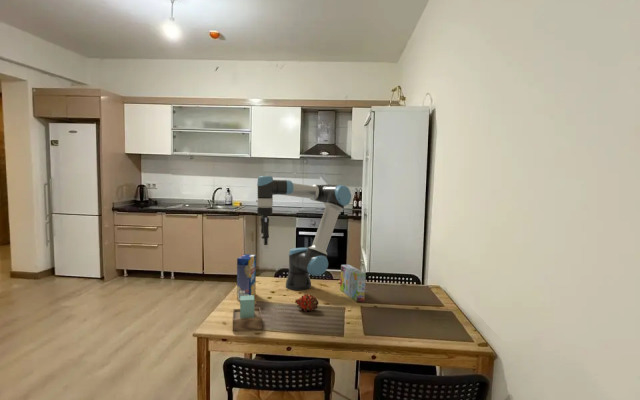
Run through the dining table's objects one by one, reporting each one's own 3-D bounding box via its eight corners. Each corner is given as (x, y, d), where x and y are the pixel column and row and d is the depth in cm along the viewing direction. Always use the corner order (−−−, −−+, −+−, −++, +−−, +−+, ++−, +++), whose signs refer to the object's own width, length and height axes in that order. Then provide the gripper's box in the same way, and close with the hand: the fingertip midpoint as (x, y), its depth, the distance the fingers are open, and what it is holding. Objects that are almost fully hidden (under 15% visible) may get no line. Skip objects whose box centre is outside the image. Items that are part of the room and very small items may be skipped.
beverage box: (255, 293, 198) (255, 254, 196) (249, 300, 187) (249, 259, 186) (243, 293, 199) (243, 254, 197) (236, 299, 188) (237, 258, 186)
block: (253, 312, 160) (253, 295, 160) (254, 317, 154) (254, 299, 154) (240, 313, 159) (240, 295, 158) (240, 318, 153) (240, 300, 153)
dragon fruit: (319, 315, 173) (296, 316, 176) (322, 300, 179) (299, 301, 182) (315, 305, 168) (291, 305, 171) (317, 290, 174) (294, 291, 177)
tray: (259, 318, 164) (260, 307, 164) (261, 329, 152) (261, 317, 152) (233, 319, 162) (233, 309, 161) (232, 331, 150) (232, 319, 150)
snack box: (365, 300, 190) (366, 273, 189) (356, 302, 188) (357, 274, 187) (348, 289, 210) (348, 263, 209) (339, 290, 208) (340, 264, 207)
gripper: (256, 204, 190) (256, 244, 192) (258, 209, 166) (258, 254, 167) (270, 204, 192) (270, 243, 193) (274, 209, 168) (274, 253, 169)
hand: (264, 248), depth 180 cm, fingers open, 13 cm apart
